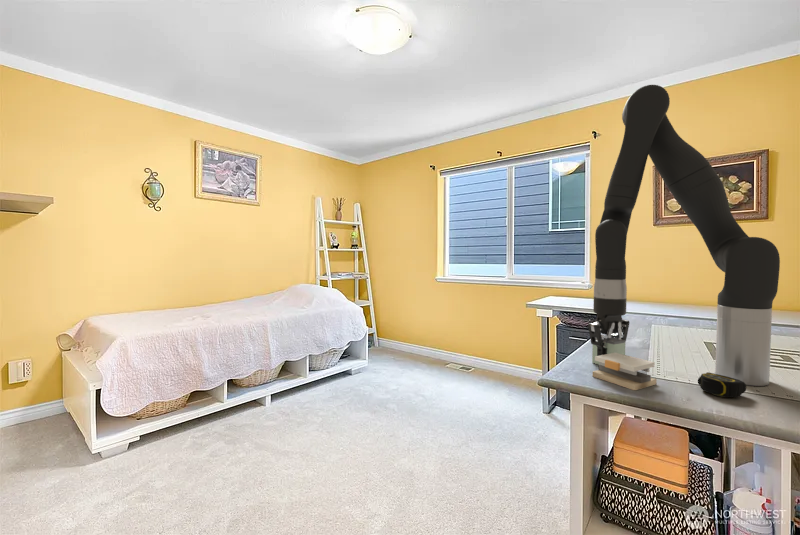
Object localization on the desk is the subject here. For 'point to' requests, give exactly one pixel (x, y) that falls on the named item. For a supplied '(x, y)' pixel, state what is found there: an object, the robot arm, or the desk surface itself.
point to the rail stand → (624, 378)
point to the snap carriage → (624, 363)
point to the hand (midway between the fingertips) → (608, 359)
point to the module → (610, 348)
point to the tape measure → (721, 385)
